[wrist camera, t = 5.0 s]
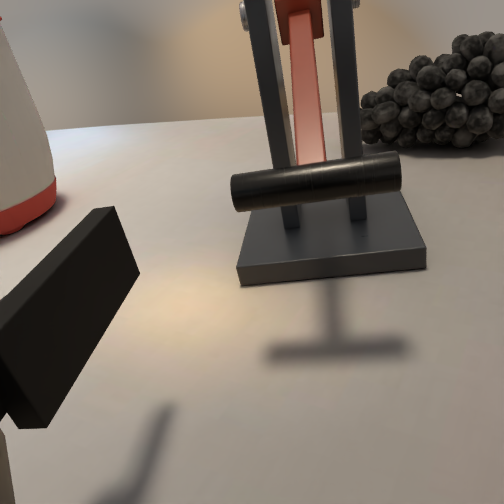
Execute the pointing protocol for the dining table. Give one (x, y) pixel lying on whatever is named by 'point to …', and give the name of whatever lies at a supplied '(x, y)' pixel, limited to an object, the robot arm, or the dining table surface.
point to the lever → (311, 135)
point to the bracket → (326, 212)
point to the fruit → (441, 97)
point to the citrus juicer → (21, 150)
